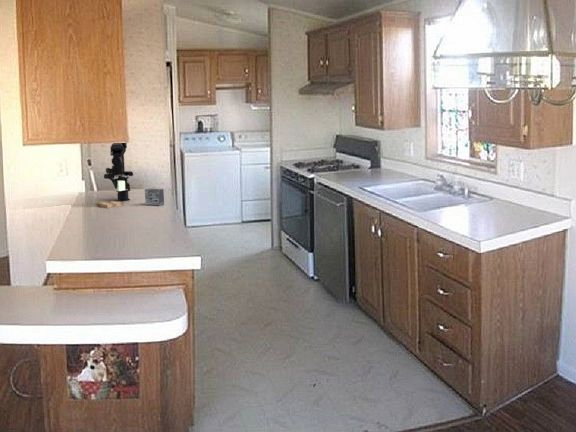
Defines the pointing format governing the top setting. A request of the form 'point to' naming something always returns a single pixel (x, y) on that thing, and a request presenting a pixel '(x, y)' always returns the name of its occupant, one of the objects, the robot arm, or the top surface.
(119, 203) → the base board
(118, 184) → the block
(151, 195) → the small box
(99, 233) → the top surface
